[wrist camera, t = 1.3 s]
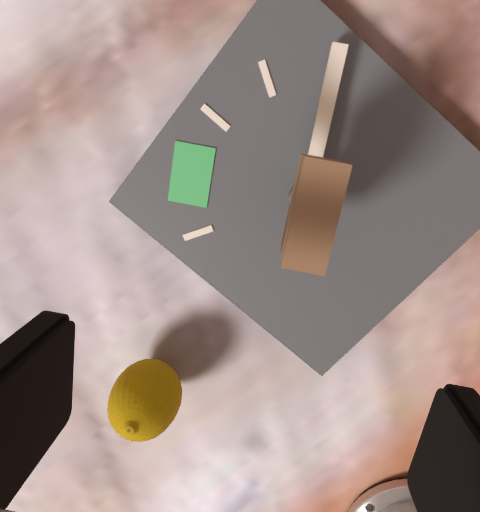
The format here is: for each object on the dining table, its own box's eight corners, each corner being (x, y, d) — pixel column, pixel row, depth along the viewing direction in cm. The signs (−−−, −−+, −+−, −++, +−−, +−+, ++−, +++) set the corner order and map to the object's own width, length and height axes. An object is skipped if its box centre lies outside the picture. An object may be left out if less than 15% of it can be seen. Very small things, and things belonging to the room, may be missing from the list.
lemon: (163, 331, 36) (132, 383, 28) (202, 378, 37) (182, 441, 29) (117, 363, 37) (75, 421, 30) (156, 408, 38) (125, 475, 30)
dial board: (509, 188, 30) (521, 190, 29) (320, 366, 35) (321, 376, 34) (283, -27, 28) (283, -36, 26) (116, 198, 33) (108, 201, 32)
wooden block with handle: (312, 239, 31) (324, 276, 22) (280, 233, 31) (281, 267, 22) (356, 49, 27) (391, 9, 19) (320, 43, 27) (338, 0, 19)
